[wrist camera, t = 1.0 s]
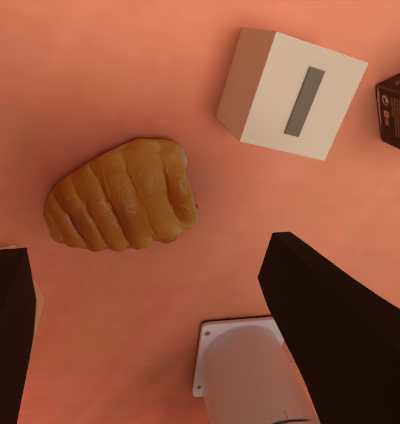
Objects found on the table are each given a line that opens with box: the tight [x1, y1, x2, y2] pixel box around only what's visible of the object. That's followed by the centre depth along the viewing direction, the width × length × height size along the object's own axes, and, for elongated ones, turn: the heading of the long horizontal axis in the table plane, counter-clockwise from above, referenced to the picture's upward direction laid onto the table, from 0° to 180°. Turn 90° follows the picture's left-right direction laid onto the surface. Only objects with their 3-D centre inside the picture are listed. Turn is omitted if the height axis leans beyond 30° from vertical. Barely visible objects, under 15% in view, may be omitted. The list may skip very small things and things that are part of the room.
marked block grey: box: [216, 28, 368, 161], centre depth 19 cm, size 5×5×5 cm
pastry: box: [44, 139, 199, 252], centre depth 21 cm, size 9×7×4 cm
